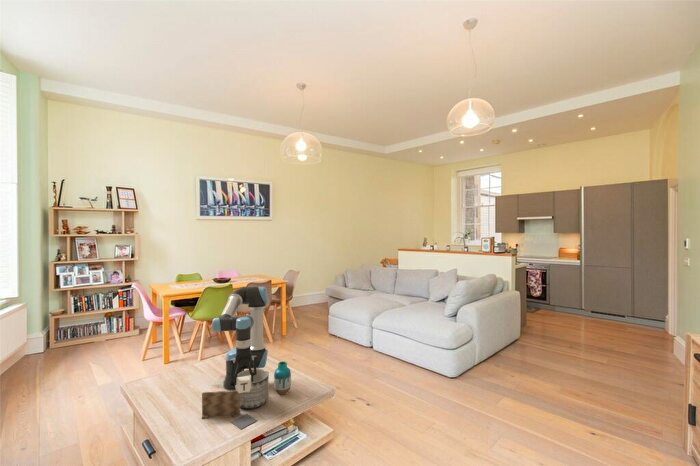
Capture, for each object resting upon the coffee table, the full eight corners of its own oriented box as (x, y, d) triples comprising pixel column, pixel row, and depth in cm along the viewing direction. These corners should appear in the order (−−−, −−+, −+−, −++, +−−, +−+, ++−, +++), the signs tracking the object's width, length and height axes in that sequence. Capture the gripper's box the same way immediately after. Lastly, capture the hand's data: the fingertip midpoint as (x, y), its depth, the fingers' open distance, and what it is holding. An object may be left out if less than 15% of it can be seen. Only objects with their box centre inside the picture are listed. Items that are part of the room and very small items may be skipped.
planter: (250, 415, 184) (250, 386, 184) (228, 405, 194) (228, 377, 194) (275, 399, 200) (275, 373, 200) (253, 391, 210) (253, 366, 210)
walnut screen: (200, 418, 181) (200, 395, 180) (204, 412, 187) (204, 390, 186) (238, 416, 183) (238, 393, 183) (240, 410, 189) (240, 388, 189)
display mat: (230, 422, 177) (230, 421, 177) (246, 414, 185) (246, 413, 185) (241, 429, 171) (241, 428, 171) (257, 420, 179) (257, 420, 179)
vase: (287, 397, 203) (287, 367, 202) (271, 396, 205) (271, 365, 204) (293, 389, 213) (293, 360, 212) (278, 387, 215) (278, 359, 215)
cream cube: (237, 388, 179) (237, 377, 179) (249, 386, 181) (249, 375, 181) (238, 393, 173) (238, 382, 173) (250, 391, 176) (249, 380, 175)
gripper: (224, 351, 170) (225, 395, 171) (262, 346, 177) (262, 389, 177) (224, 346, 177) (225, 388, 178) (260, 342, 184) (261, 382, 184)
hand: (243, 388), depth 178 cm, fingers closed on cream cube, 6 cm apart
